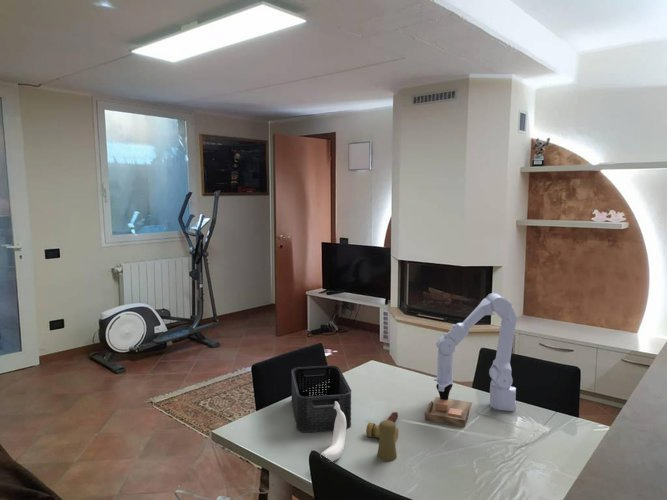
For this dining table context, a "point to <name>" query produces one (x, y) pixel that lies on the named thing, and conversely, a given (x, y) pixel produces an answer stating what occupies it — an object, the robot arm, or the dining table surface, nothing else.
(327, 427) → the storage bin
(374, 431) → the gavel
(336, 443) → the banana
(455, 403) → the wooden tray
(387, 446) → the cork
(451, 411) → the tile inner
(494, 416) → the dining table surface
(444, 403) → the tile outer
